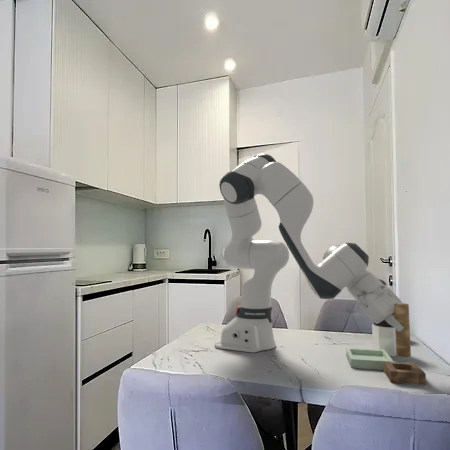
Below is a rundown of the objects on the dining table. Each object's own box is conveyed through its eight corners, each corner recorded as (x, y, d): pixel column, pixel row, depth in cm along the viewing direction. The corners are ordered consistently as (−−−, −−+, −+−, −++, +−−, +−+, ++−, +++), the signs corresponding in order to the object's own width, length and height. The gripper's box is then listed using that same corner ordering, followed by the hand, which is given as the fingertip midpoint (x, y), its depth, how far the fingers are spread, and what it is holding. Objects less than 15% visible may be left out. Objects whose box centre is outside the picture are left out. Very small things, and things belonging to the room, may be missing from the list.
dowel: (398, 356, 95) (396, 305, 95) (394, 352, 98) (392, 302, 99) (412, 357, 94) (410, 305, 95) (408, 353, 97) (406, 303, 98)
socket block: (391, 382, 92) (390, 371, 92) (384, 371, 100) (383, 361, 100) (426, 385, 90) (425, 373, 90) (415, 373, 98) (415, 363, 98)
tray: (351, 367, 103) (350, 359, 104) (346, 355, 115) (346, 347, 115) (394, 370, 101) (394, 361, 101) (384, 357, 112) (384, 350, 113)
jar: (391, 358, 112) (389, 320, 113) (368, 352, 119) (367, 317, 120) (406, 353, 117) (404, 317, 118) (383, 348, 124) (382, 314, 125)
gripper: (362, 286, 94) (403, 328, 87) (385, 280, 109) (421, 315, 102) (346, 301, 97) (385, 343, 90) (371, 293, 112) (405, 328, 105)
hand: (404, 328), depth 96 cm, fingers closed on dowel, 4 cm apart
